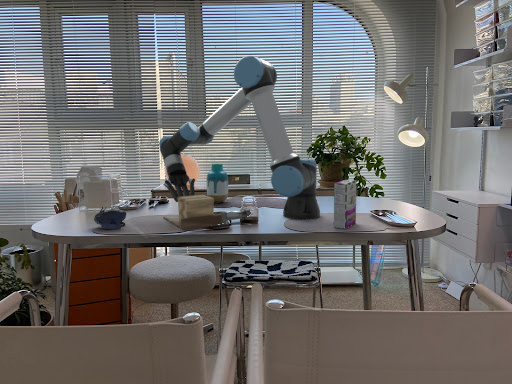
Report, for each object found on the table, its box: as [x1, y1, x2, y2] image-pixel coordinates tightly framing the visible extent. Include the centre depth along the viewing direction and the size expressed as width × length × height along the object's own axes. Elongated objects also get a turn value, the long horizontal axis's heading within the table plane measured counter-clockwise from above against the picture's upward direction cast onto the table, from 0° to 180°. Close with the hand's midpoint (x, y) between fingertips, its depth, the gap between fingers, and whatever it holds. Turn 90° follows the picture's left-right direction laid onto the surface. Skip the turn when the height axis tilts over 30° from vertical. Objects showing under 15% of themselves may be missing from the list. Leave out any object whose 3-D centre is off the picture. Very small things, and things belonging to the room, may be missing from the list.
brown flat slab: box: [163, 213, 223, 231], centre depth 153 cm, size 23×15×4 cm, turn 29°
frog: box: [93, 206, 127, 230], centre depth 147 cm, size 10×12×8 cm
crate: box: [177, 194, 215, 224], centre depth 148 cm, size 10×10×10 cm
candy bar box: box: [333, 179, 357, 230], centre depth 146 cm, size 11×5×16 cm, turn 148°
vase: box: [206, 163, 229, 204], centre depth 197 cm, size 11×11×19 cm
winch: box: [219, 208, 252, 224], centre depth 153 cm, size 15×6×5 cm, turn 119°
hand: (190, 214), depth 154 cm, fingers closed
